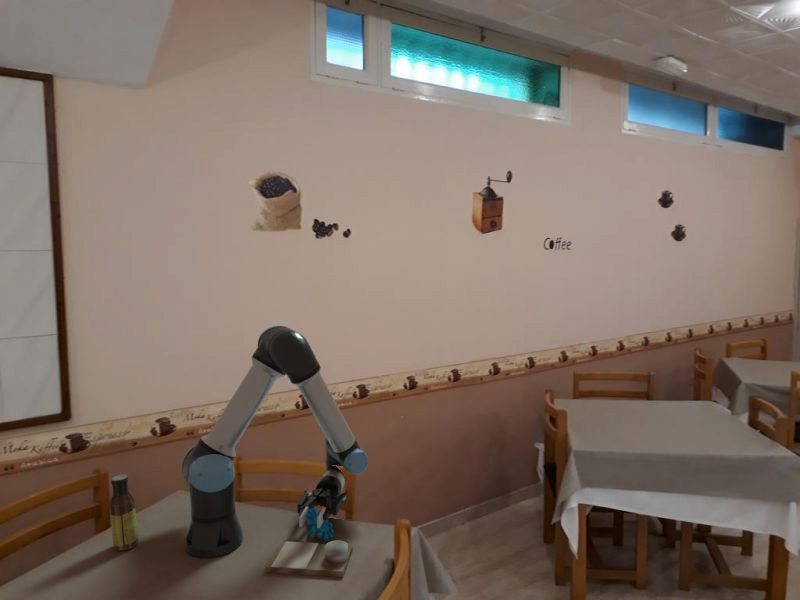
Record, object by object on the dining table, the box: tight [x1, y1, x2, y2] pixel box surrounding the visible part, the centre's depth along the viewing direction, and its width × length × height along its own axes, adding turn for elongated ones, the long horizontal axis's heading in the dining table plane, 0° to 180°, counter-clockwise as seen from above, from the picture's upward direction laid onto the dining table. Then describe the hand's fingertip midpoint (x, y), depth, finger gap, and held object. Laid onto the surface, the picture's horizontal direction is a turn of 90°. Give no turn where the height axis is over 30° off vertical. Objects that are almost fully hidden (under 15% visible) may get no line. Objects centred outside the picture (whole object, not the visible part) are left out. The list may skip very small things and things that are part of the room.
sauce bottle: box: [109, 474, 139, 552], centre depth 153 cm, size 6×6×20 cm
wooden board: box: [264, 539, 354, 578], centre depth 146 cm, size 20×12×4 cm, turn 83°
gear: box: [306, 507, 335, 541], centre depth 159 cm, size 11×6×10 cm
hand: (309, 522), depth 153 cm, fingers closed on gear, 4 cm apart
